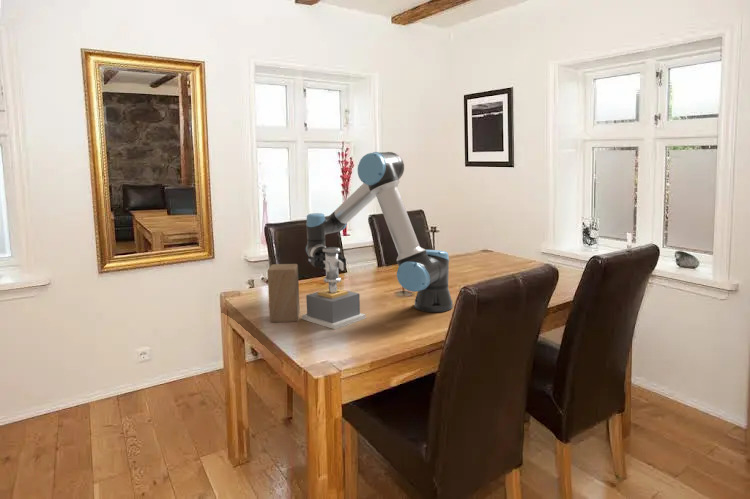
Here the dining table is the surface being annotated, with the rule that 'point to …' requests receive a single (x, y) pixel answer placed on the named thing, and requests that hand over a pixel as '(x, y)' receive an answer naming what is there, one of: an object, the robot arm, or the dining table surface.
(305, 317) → the pin housing
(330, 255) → the steel pin
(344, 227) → the robot arm
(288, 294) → the wooden block
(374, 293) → the dining table surface
